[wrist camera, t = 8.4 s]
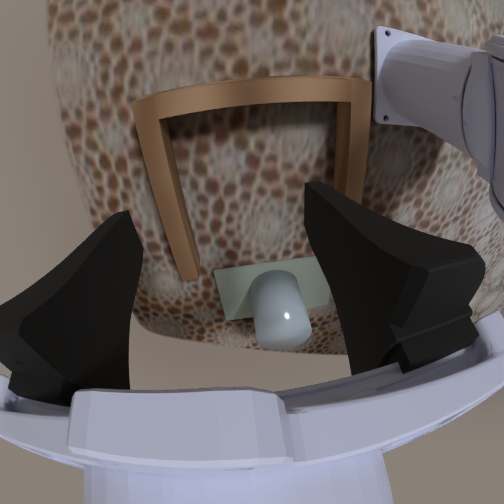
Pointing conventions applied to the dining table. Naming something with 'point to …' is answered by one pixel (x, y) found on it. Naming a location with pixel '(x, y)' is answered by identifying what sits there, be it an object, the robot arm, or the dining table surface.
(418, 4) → the dining table surface
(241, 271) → the mat
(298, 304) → the grey rounded cylinder
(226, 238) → the dining table surface
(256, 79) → the wooden frame
